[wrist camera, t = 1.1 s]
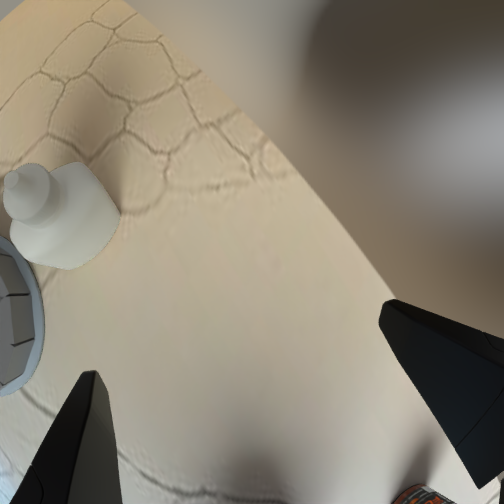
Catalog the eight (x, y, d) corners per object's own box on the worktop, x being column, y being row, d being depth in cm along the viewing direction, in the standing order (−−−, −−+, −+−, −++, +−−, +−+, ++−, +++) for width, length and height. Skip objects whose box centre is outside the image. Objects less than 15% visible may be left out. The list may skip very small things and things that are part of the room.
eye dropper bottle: (48, 216, 19) (-41, 154, 8) (117, 194, 21) (73, 105, 9) (59, 274, 19) (-38, 259, 8) (130, 253, 21) (87, 214, 9)
